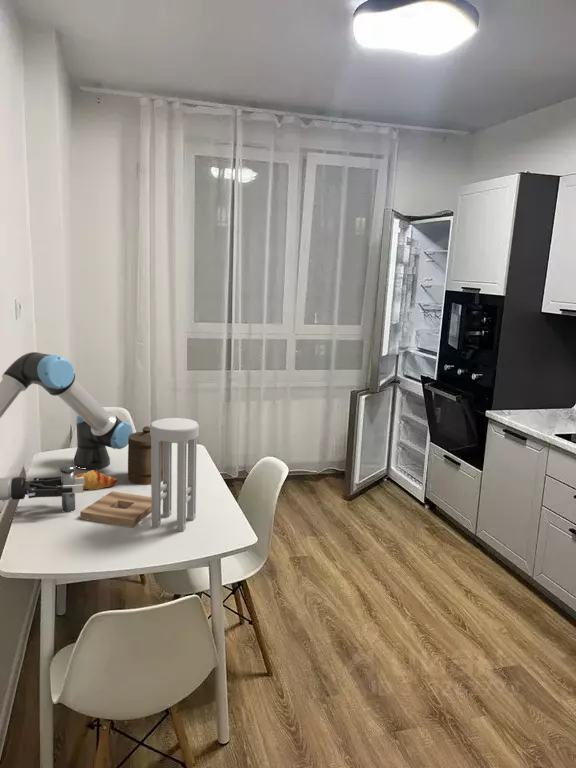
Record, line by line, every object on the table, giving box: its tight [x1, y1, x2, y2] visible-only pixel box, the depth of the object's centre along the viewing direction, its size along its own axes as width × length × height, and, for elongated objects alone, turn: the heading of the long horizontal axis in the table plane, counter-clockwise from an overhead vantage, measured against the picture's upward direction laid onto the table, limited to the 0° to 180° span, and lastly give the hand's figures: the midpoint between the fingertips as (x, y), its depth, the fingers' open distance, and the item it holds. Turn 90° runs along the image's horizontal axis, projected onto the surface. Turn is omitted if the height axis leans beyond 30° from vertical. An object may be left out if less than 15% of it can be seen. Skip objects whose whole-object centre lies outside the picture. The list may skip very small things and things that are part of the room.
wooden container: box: [127, 425, 163, 485], centre depth 234 cm, size 15×15×22 cm
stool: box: [149, 417, 200, 532], centre depth 193 cm, size 16×16×35 cm
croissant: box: [75, 469, 119, 491], centre depth 224 cm, size 21×10×8 cm, turn 98°
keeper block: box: [79, 491, 151, 528], centre depth 203 cm, size 20×20×2 cm
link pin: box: [59, 463, 77, 513], centre depth 201 cm, size 5×5×16 cm
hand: (83, 484), depth 202 cm, fingers open, 6 cm apart
